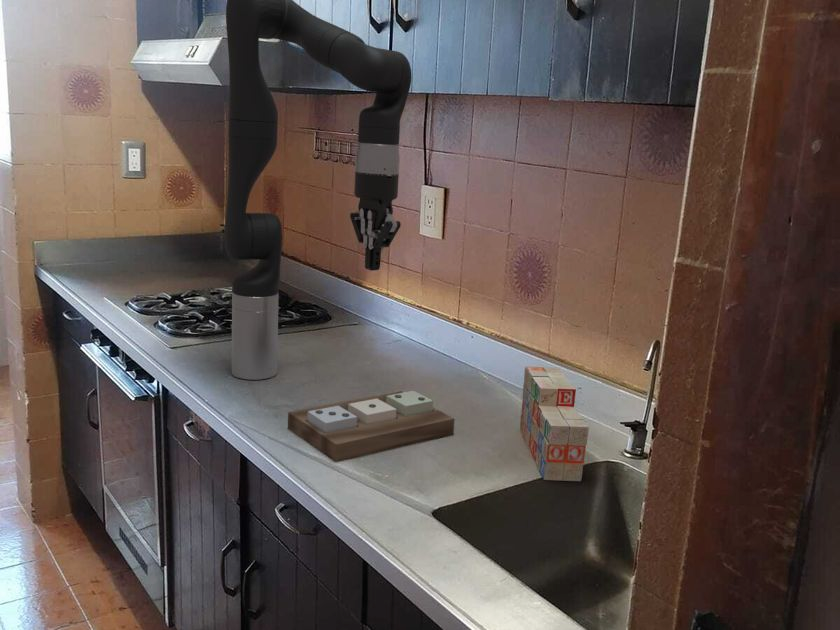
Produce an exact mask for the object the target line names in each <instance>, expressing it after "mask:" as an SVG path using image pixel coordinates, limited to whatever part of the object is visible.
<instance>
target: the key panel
mask: <svg viewBox="0 0 840 630" xmlns="http://www.w3.org/2000/svg"><path fill="white" fill-rule="evenodd" d="M398 393H404V392H403V391H397V392H396V391H395V392H391V393H384V394H380V395H379V394H378V395H373V396H369V397H364V398H357V399H352V400H346V401H341V402H335V403H332V404H331V403H330V404H326V405H325V404H324V405H320V406H314V407H309V408H308V407H307V408H303V409H297V410H292V411H288V412H287V429H288V430H289V431H291V432H292V433H293V434H295V435H296V436H298V437H299V438H300V439H302V440H303V441H305V442H306V443H308V444H309V445H310V446H312V447H314V448H315V449H316V450H317V451H319V452H321V453H322V454H323V455H325V456H326V457H328V458H329V459H330V460H331V461H333V462H334V463H338V462H342V461H346V460H351V459H355V458H359V457H363V456H368V455H371V454H376V453H380V452H386V451H389V450H394V449H398V448H402V447H406V446H409V445H414V444H419V443H424V442H428V441H433V440H436V439H440V438H445V437H450V436H454V433H455V431H454V429H455V418H454V417H452V416H450V415H448V414H447V413H444V412H442V411H441V410H439V409H437V408H435V407H433V411H431V412H426V413H422V414H417V415H412V416H407V417H404V416H402V415H401V414H399V413H397V412H396V419H393V420H388V421H383V422H378V423H373V424H368V425H366V424H364V423H362V422H361V421H359V420H357V427H354V428H349V429H344V430H339V431H335V432H330V433H323V432H322V431H320V430H319V429H317V428H316V427H314V426H313V425H311V424H310V423H308V422H307V418H308V411H312V410H318V409H323V408H328V407H334V406H340V407H342V408H343V409H345V410H347V411H348V404H350V403H355V402H361V401H366V400H372V399H379V400H381V401H383V402H384V403H386V396H388V395H393V394H398Z"/></svg>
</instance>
